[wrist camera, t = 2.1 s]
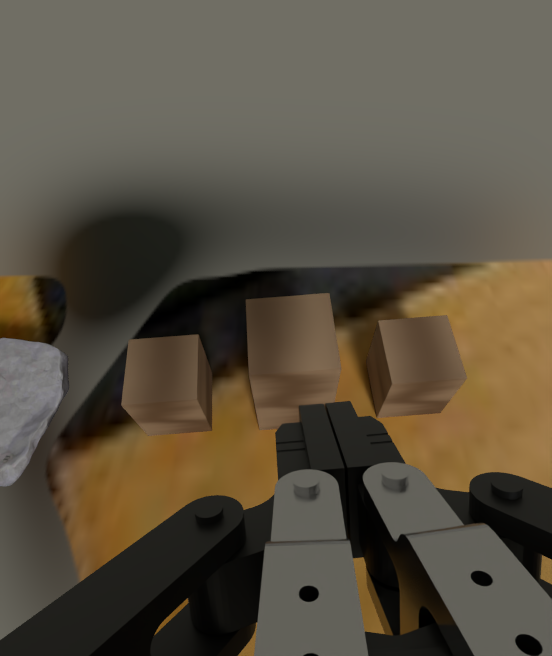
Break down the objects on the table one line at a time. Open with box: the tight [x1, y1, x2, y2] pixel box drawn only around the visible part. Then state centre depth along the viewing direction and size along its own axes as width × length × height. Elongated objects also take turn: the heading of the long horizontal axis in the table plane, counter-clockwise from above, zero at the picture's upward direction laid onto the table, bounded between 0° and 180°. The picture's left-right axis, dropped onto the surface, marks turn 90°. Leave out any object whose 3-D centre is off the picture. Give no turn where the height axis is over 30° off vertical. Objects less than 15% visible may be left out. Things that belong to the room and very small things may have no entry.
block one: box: [366, 315, 467, 418], centre depth 34 cm, size 5×5×6 cm
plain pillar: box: [246, 293, 341, 430], centre depth 33 cm, size 6×6×10 cm
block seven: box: [121, 334, 212, 436], centre depth 34 cm, size 5×5×6 cm
